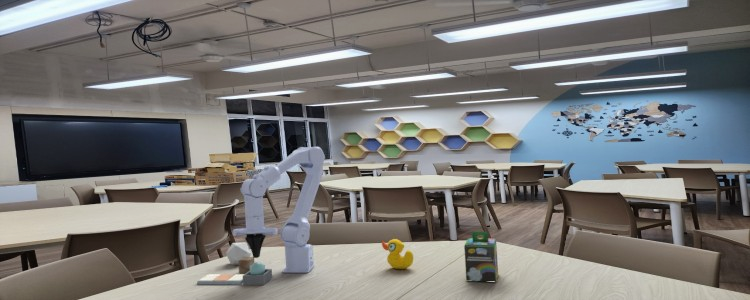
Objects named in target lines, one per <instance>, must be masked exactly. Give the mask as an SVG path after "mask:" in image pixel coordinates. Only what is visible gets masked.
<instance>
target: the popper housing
mask: <svg viewBox="0 0 750 300" xmlns="http://www.w3.org/2000/svg"><path fill="white" fill-rule="evenodd" d="M272 279H273V269H272V268H265V273H264V274H263V275H250V271H248V272H247V273H246V274H244V275H243V283H242V284H243V285H244V286H264V285H266V284H267V283H268V282H269V281H271V280H272Z"/></svg>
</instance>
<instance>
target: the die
mask: <svg viewBox="0 0 750 300" xmlns="http://www.w3.org/2000/svg"><path fill="white" fill-rule="evenodd" d="M225 255H226V257H227V259H228V261H229V263H230V265H231V266H239V262H238V260H239V259H241V258H243V257H251V255H252V251H251V249H250V247H249V245H248V243H247V241H245V242H244V241H243V242H232V243H231V245H230V246H229V247H228V249H227V250H226V252H225Z"/></svg>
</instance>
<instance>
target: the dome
mask: <svg viewBox="0 0 750 300" xmlns="http://www.w3.org/2000/svg"><path fill="white" fill-rule="evenodd" d="M265 269H266V265H265V264H263V263H262V262H260V261H254V264H253V265H252V266H250V275H263V274H264V273H265Z"/></svg>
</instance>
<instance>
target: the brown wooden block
mask: <svg viewBox="0 0 750 300" xmlns="http://www.w3.org/2000/svg"><path fill="white" fill-rule="evenodd" d="M238 262H239V265H238V274H246V273H247V272H248V271H250V266H252V265H253V264H254V263H255V258H253V256H250V257H243V258H241V259H239V260H238Z"/></svg>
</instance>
